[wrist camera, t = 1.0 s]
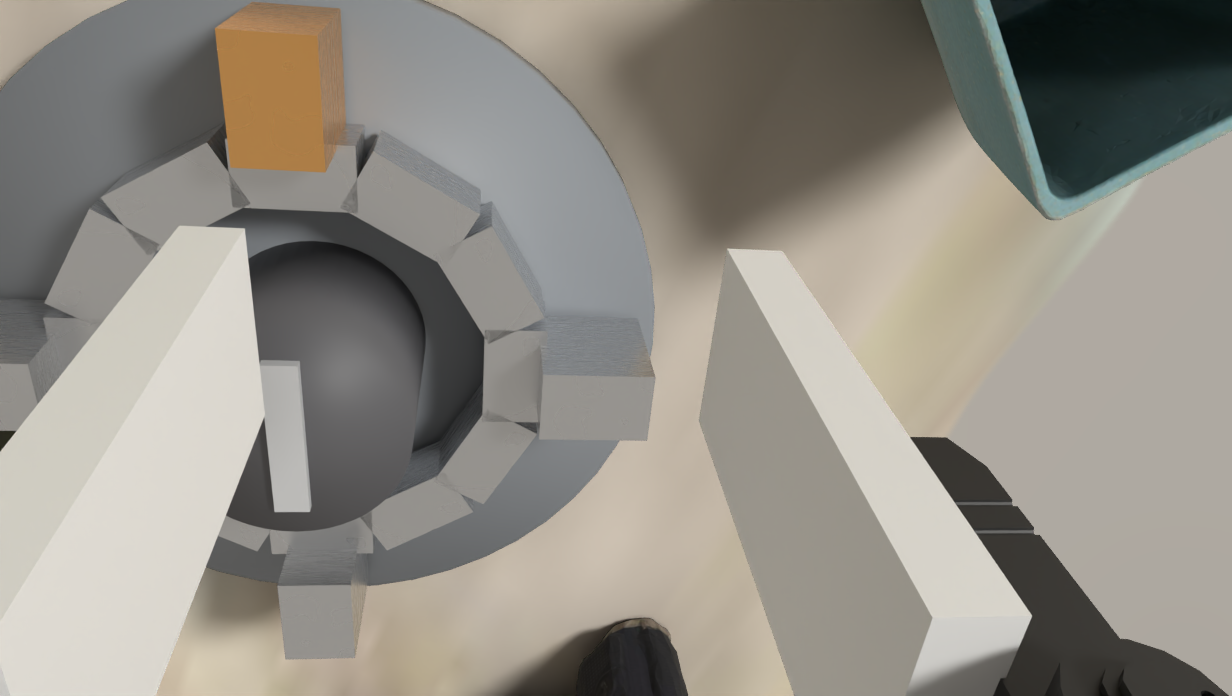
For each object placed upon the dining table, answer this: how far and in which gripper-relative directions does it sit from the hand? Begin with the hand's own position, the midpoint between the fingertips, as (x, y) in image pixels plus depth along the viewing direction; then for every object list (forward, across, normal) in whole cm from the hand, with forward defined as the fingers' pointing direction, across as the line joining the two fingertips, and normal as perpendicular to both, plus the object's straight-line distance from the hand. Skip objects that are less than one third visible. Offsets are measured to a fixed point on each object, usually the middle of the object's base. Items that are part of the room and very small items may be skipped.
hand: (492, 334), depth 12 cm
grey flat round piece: (+17, -5, -10) cm, 21 cm away
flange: (+19, -6, -10) cm, 22 cm away
